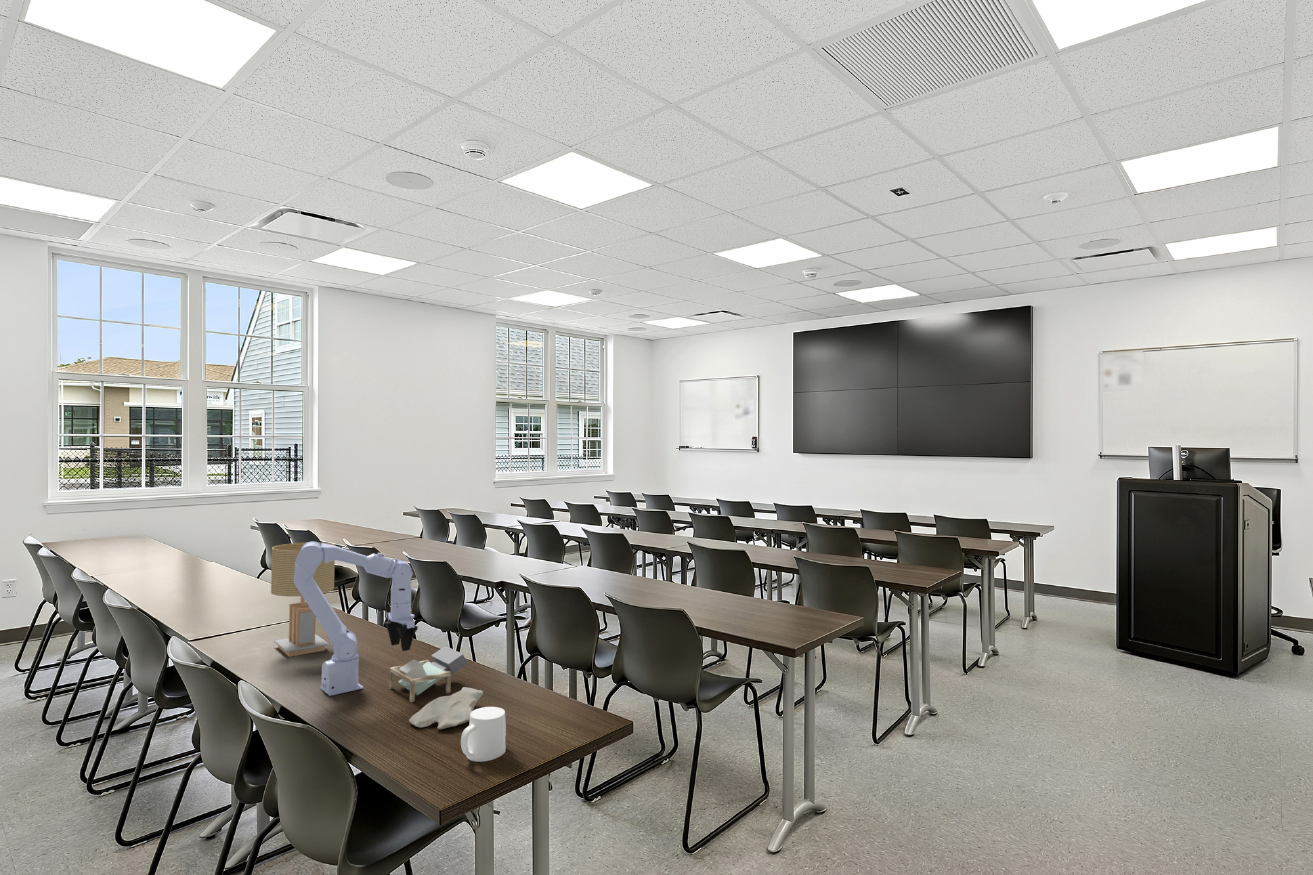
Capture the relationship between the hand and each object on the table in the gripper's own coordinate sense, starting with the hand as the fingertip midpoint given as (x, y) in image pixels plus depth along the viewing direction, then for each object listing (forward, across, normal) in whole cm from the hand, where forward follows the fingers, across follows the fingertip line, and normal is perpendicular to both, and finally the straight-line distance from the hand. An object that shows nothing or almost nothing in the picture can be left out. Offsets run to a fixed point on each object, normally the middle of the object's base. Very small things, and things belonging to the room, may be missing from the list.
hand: (400, 647), depth 211 cm
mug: (+11, -60, +6) cm, 61 cm away
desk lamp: (+10, +54, +11) cm, 56 cm away
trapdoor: (+7, -10, -6) cm, 14 cm away
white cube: (+7, -10, 0) cm, 13 cm away
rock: (+11, -36, +1) cm, 37 cm away
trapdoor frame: (+10, -10, -1) cm, 15 cm away
